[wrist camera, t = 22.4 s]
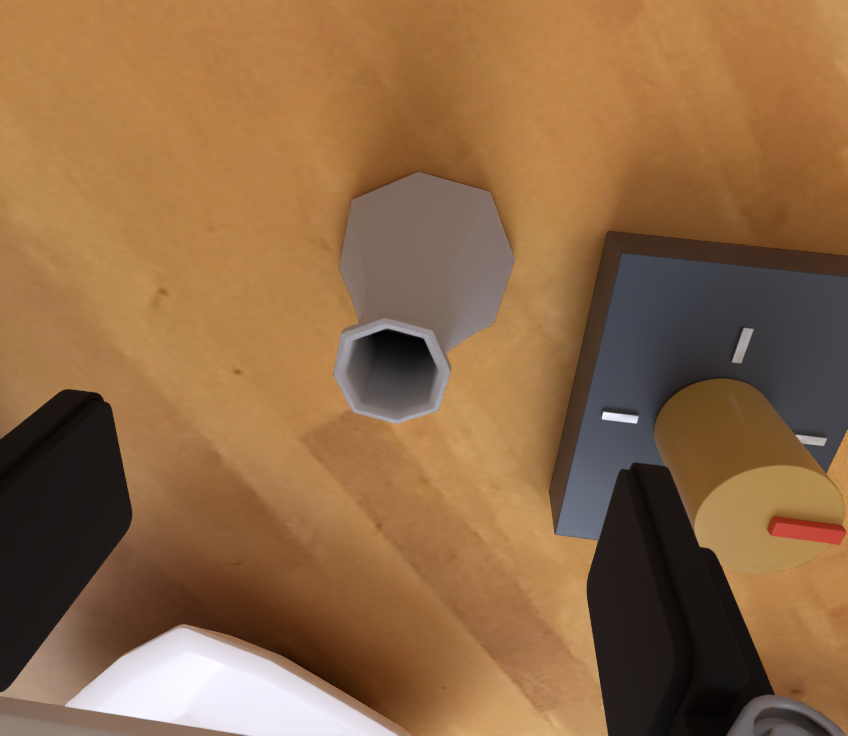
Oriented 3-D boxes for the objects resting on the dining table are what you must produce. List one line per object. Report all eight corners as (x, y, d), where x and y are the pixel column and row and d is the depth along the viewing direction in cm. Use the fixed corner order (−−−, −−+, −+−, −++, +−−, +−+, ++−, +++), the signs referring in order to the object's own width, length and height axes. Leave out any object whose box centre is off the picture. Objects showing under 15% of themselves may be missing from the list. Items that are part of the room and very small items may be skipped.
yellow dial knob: (641, 465, 25) (680, 571, 20) (670, 371, 23) (721, 462, 18) (750, 479, 25) (817, 590, 20) (789, 385, 23) (875, 481, 18)
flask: (351, 343, 27) (284, 482, 18) (327, 176, 24) (232, 247, 15) (515, 338, 26) (527, 482, 18) (513, 164, 23) (528, 232, 14)
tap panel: (607, 230, 24) (622, 253, 21) (869, 258, 23) (921, 285, 21) (548, 492, 30) (554, 537, 27) (756, 518, 29) (784, 567, 27)
